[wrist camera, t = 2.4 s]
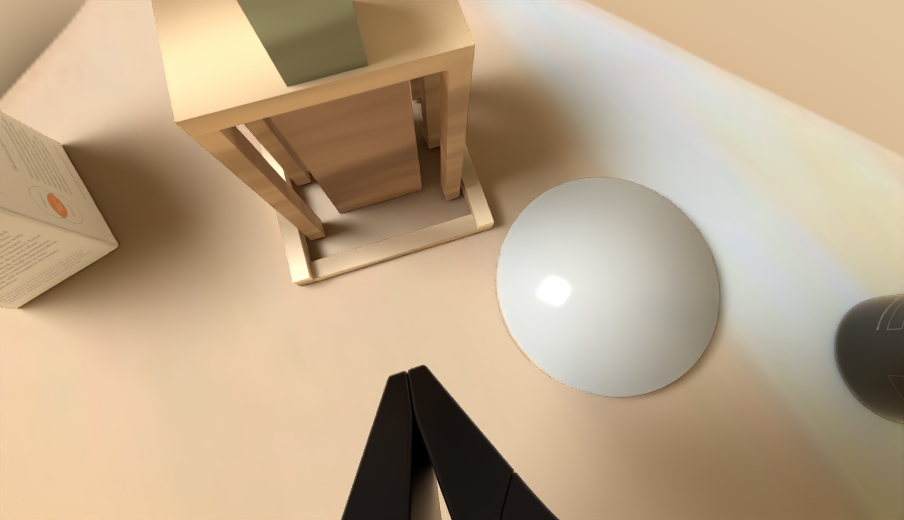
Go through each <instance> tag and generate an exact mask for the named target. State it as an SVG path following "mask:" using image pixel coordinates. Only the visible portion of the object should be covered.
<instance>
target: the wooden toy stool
mask: <svg viewBox="0 0 904 520" xmlns="http://www.w3.org/2000/svg"><path fill="white" fill-rule="evenodd" d="M152 6H153V11H154V16H155V21H156V26H157V32H158V37H159V42H160V47H161V53H162V58H163V63H164V68H165V73H166V79H167V84H168V89H169V94H170V100H171V105H172V110H173V115H174V120H175V123H176V124H177V125H178V126H180V127H181V128H182V129H183V130H184V131H185V132H187V133H188V134H189V135H190V136H191V137H192V138H193V139H195V140H196V141H197V142H198V143H199V144H200V145H202V146H203V147H204V148H205V149H206V150H207V151H209V152H210V153H211V154H212V155H213V156H214V157H215V158H217V159H218V160H219V161H220V162H221V163H222V164H224V165H225V166H226V167H227V168H228V169H229V170H231V171H232V172H233V173H234V174H235V175H236V176H237V177H239V178H240V179H241V180H242V181H243V182H244V183H246V184H247V185H248V186H249V187H250V188H251V189H252V190H254V191H255V192H256V193H257V194H258V195H259V196H261V197H262V198H263V199H264V200H265V201H266V202H268V203H269V204H270V205H271V206H272V207H273V208H274V209H276V210H277V211H278V212H279V213H280V214H281V215H283V216H284V217H285V218H286V219H287V220H288V221H289V222H291V223H292V224H293V225H294V226H295V227H296V228H298V229H299V230H300V231H301V232H302V233H303V234H305V235H306V236H307V237H308V238H309V239H310V240H314V239H318V238H321V237H325V234H324V230H323V226H322V222H321V220H320V219H319V218H318V216H317V215H316V214H315V213H314V212H313V211H312V210H311V209H310V208H309V207H308V206H307V204H306V203H305V202H304V201H303V200H302V199H301V198H300V197H299V196H298V195H297V193H296V192H295V191H294V190H293V189H292V188H291V187H290V186H289V185H288V184H287V182H286V181H285V180H284V179H283V178H282V177H281V176H280V175H279V174H278V173H277V171H276V170H275V169H274V168H273V167H272V166H271V165H270V164H269V163H268V162H267V160H266V159H265V158H264V157H263V156H262V155H261V154H260V153H259V152H258V151H257V150H256V148H255V147H254V146H253V145H252V144H251V143H250V142H249V141H248V140H247V139H246V137H245V136H244V135H243V134H242V133H241V132H240V131H239V130H238V129H237V128H236V126H237V125H241V124H244V125H245V126H246V127H247V128H248V129H249V130H250V132H251V133H252V134H253V135H254V136H255V137H256V139H257V140H258V141H259V142H260V143H261V144H262V146H263V147H264V148H265V149H266V150H267V151H268V152H269V154H270V155H271V156H272V157H273V158H274V159H275V161H276V162H277V163H278V164H279V165H280V166H281V167H282V169H283V170H284V171H285V172H286V173H287V174H288V176H289V177H290V178H291V179H292V180H293V181H294V183H295V184H296V185H297V186H299V185H303V184H306V183H310V182H311V180H310V177H309V173H308V169H307V167H306V166H305V165H304V163H303V162H302V161H301V159H300V158H299V156H298V155H297V154H296V152H295V151H294V150H293V148H292V147H291V145H290V144H289V143H288V141H287V140H286V139H285V137H284V136H283V135H282V133H281V132H280V130H279V129H278V128H277V126H276V125H275V124H274V122H273V121H272V119H271V118H270V117H271V116H275V115H278V114H282V113H286V112H290V111H294V110H297V109H301V108H305V107H309V106H313V105H316V104H320V103H324V102H328V101H331V100H335V99H339V98H343V97H347V96H350V95H354V94H358V93H362V92H366V91H369V90H373V89H377V88H381V87H385V86H388V85H392V84H396V83H400V82H403V81H407V80H409V87H410V95H411V98H412V100H416V99H419V98H421V107H422V118H423V130H424V136H425V139H426V142H427V145H428V148H429V149H431V148H435V147H438V146H441V187H442V190H443V193H444V196H445V199H446V201H447V200H451V199H454V198H457V197H459V194H460V184H461V174H462V165H463V155H464V145H465V136H466V126H467V116H468V107H469V97H470V87H471V78H472V68H473V58H474V49H475V43H474V41H473V38H472V36H471V33H470V30H469V28H468V25H467V23H466V20H465V17H464V15H463V12H462V10H461V7H460V4H459V2H458V0H152Z"/></svg>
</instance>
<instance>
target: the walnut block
mask: <svg viewBox="0 0 904 520" xmlns="http://www.w3.org/2000/svg"><path fill="white" fill-rule="evenodd" d="M270 118H271V119H272V121H273V122H274V124H275V125H276V126H277V128H278V129H279V130H280V132H281V133H282V135H283V136H284V137H285V139H286V140H287V141H288V143H289V144H290V145H291V147H292V148H293V150H294V151H295V152H296V154H297V155H298V156H299V158H300V159H301V161H302V162H303V163H304V165H305V166H306V167H307V169H308V170H309V171H310V173H311V174H312V176H313V177H314V178H315V180H316V181H317V182H318V184H319V185H320V187H321V188H322V189H323V191H324V192H325V193H326V195H327V196H328V198H329V199H330V200H331V202H332V203H333V204H334V206H335V207H336V208H337V210H338V211H339V213H340V214H341V213H344V212H348V211H351V210H355V209H358V208H362V207H365V206H369V205H372V204H375V203H379V202H382V201H386V200H389V199H393V198H396V197H400V196H403V195H407V194H410V193H413V192H417V191H420V190H422V183H421V175H420V167H419V159H418V151H417V143H416V135H415V127H414V119H413V111H412V103H411V95H410V87H409V80H407V81H403V82H400V83H396V84H392V85H388V86H385V87H381V88H377V89H373V90H369V91H366V92H362V93H358V94H354V95H350V96H347V97H343V98H339V99H335V100H331V101H328V102H324V103H320V104H316V105H313V106H309V107H305V108H301V109H297V110H294V111H290V112H286V113H282V114H278V115H275V116H271V117H270Z"/></svg>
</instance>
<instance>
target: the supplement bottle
mask: <svg viewBox="0 0 904 520" xmlns="http://www.w3.org/2000/svg"><path fill="white" fill-rule="evenodd" d="M835 355H836V361H837V364H838V368H839V370H840V373H841V375H842V377H843V379H844V381H845V383H846V384H847V386H848V387H849V389H850V390H851V391H852V392H853V394H854V395H855V396H856V397H857V398H858V399H859V400H860V401H861V402H862V403H863V404H864V405H866V406H867V407H868V408H869V409H871V410H872V411H874V412H875V413H877V414H879V415H881V416H883V417H885V418H887V419H889V420H892V421H895V422H898V423H903V424H904V294H898V295H890V296H883V297H877V298H872V299H869V300H866V301H864V302H862V303H860V304H858V305H856V306H855V307H854V308H852V309H851V310H850V311H849V312H848V313H847V314H846V315H845V317H844V318H843V320H842V321H841V323H840V325H839V327H838V330H837V333H836V338H835Z"/></svg>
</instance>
